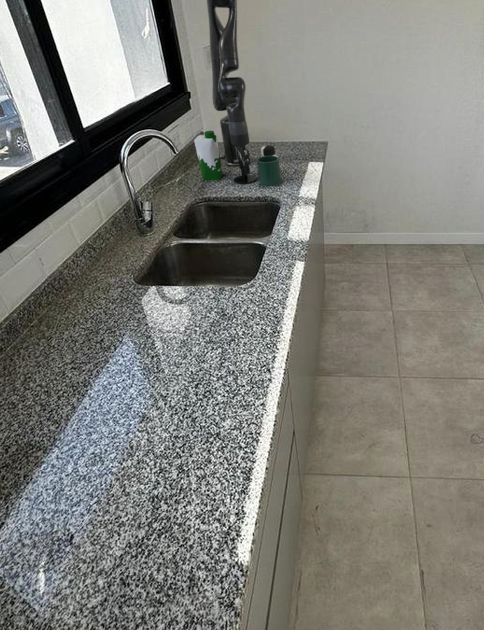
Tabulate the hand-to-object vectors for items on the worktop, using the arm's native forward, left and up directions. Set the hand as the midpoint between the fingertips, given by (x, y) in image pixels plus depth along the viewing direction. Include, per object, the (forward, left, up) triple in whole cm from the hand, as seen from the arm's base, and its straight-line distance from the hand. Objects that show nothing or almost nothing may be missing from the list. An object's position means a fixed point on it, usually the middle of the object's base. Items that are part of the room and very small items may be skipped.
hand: (244, 171), depth 189 cm
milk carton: (-11, -12, -5) cm, 17 cm away
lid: (0, 0, -4) cm, 4 cm away
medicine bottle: (-4, +13, -5) cm, 14 cm away
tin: (+8, +9, -5) cm, 12 cm away
